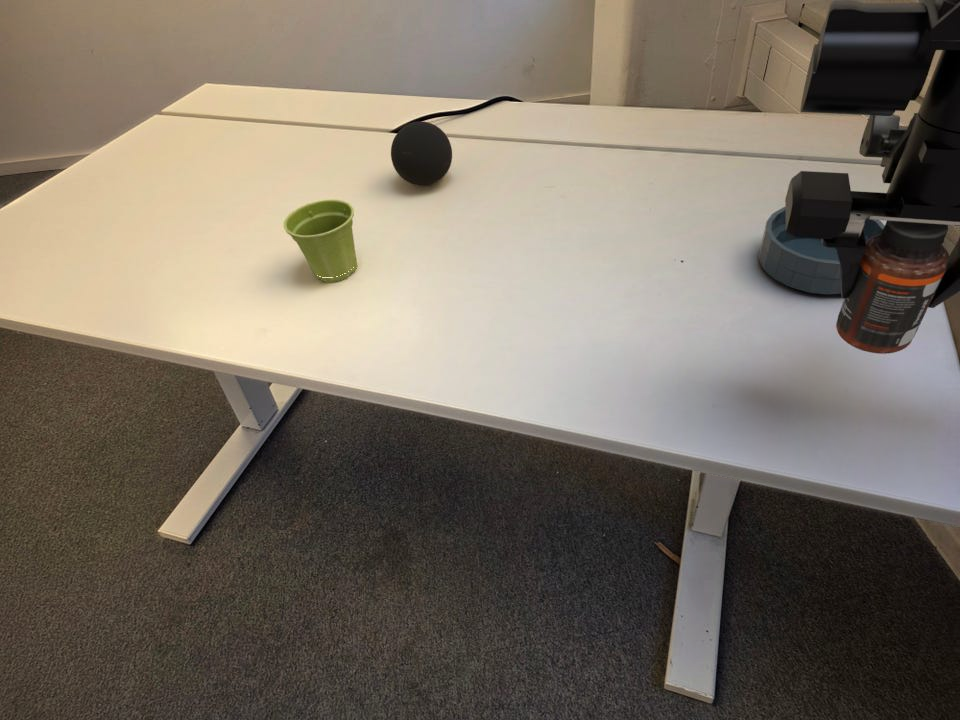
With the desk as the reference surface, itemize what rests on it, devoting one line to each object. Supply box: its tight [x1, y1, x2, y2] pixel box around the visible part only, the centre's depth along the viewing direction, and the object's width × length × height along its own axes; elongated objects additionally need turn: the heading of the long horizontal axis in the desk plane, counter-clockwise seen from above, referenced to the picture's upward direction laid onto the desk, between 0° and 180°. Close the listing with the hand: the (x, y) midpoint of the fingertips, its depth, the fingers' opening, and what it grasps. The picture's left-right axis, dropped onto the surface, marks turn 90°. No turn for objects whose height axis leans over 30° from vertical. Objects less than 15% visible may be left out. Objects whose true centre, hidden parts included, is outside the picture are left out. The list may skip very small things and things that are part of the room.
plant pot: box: [283, 199, 358, 283], centre depth 84 cm, size 9×9×9 cm
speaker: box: [390, 120, 453, 187], centre depth 99 cm, size 10×10×10 cm
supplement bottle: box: [835, 221, 950, 355], centre depth 50 cm, size 6×6×11 cm
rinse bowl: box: [758, 206, 885, 295], centre depth 74 cm, size 13×13×5 cm
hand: (885, 300), depth 51 cm, fingers closed on supplement bottle, 6 cm apart
